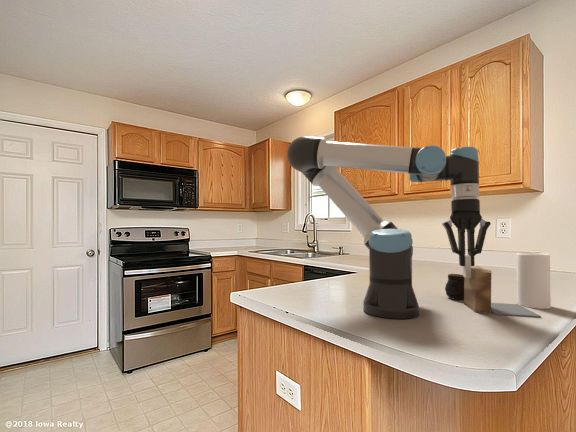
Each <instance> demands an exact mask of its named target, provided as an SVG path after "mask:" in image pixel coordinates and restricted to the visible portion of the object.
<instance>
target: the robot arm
mask: <svg viewBox="0 0 576 432" xmlns="http://www.w3.org/2000/svg"><path fill="white" fill-rule="evenodd" d="M286 159H287V161H288V163H289V165H290V167H292V168H293V169H294V170H296V171H298V172H300V173H301V174H302V175H303V176H304V177H305V178H306V179H307V180H308V182H309V183H311V185H312V186H315V187H320V189H321V190H322V191H323V192H324V193H325V195H327V197H328V198H329V199H330V200H331V201H332V202H333V204H334V205H336V207H337V208H338V209H339V210H340V212H341V213H342V214H343V215H344V216H345V217H346V218H347V220H349V221H350V223H351V224H352V225H353V226H354V228H356V230H357V231H358V232H359V233H360V234H361V236H363V244H364V246H365V247H366V248H367V249H368V252H369V255H368V256H369V259H368V261H369V271H368V273H369V282H368V287H367V290H366V293H365V297H364V299H363V303H362V304H363V311H364V312H365V313H366V314H367V315H368V314H369V315H371V316H375V317H377V318H378V317H379V318H384V319H396V320H404V319H405V320H406V319H412V318H413V319H414V318H416V317H419V315H420V305H419V302H418V299H417V296H416V293H415V289H414V288H413V254H414V248H413V247H414V246H413V244H414V242H413V238H412V237H413V236H412V233H411V232H410V231H409V230H407V229H402V228H398V227H397V226H396V225H395V224H394V223H393V222H392V221H391V220H385V219H384V218H382V217H381V216H380V214H378V212H377V211H376V210H375V209H374V208H373V207H372V205H371V204H370V203H369V202H368V201H367V200H366V199H365V198H364V197H363V196H362V195H361V194H360V192H359V191H358V190H356V188H355V187H354V186H353V185H352V184H351V183H350V182H349V181H348V179H347V178H346V177H345V176H344V175H343V174H342V173H341V172H340V170H339V169H338V168H342V169H343V168H344V169H353V170H354V169H356V170H365V171H375V172H376V171H378V172H390V173H397V174H399V173H400V174H408V175H409V182H412V183H425V182H426V183H428V182H439V181H442V182H443V181H446V182H447V181H450V198H451V199H452V200H451V203H450V204H451V206H450V208H451V209H450V210H451V215H450V217H449V219H448V220H446V221H443V222H442V223H441V225H442V227H444V229H445V231H446V235H447V238H448V241H449V242H448V243H449V245H450V247H451V249H450V250H451V251H452V253H453V254H456V255H458V261H459V263H458V264H459V266H460V267H462V275H463V277H465V278H471V266H476V265H475V256H476V255H479V254H480V255H481V254H482V251H483V247H484V243H485V239H486V235H487V232H488V231H487V230H488V229H489V228H490V226H491V223H492V222H490V221H486V220H485V219H483V217H482V215H481V207H480V206H481V200H480V199H478V198H479V197H480V176H479V175H480V165H479V163H480V161H479V152H478V149H477V148H476V147H475V146H461V147H455V148H453V149H451V150H450V152H449V155H447V154H446V152H445V151H444V150H443V148H441V147H440V146H438V145H426V146H424V147H414V146H413V147H412V146H411V147H410V146H397V145H385V144H384V145H383V144H369V143H368V144H367V143H357V142H356V143H355V142H339V141H328V140H327V139H326V138H325V137H319V136H318V137H317V136H307V135H305V136H304V135H302V136H299V137H297V138H295V139H293V140H292V141H291V142H290V143H289V145H288V147H287V151H286ZM453 226H455V228H456V229H457V239H458V240H456V238H455V233H454V231H453V228H452V227H453ZM478 226H479V229H478V233H477V236H476V237H477V238H476V242H475V232H476V228H477V227H478ZM466 233H467V235H466ZM466 236H467V237H466ZM466 240H467V242H466ZM457 243H458V244H457ZM466 243H467V244H466ZM466 245H467V254H466Z"/></svg>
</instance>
